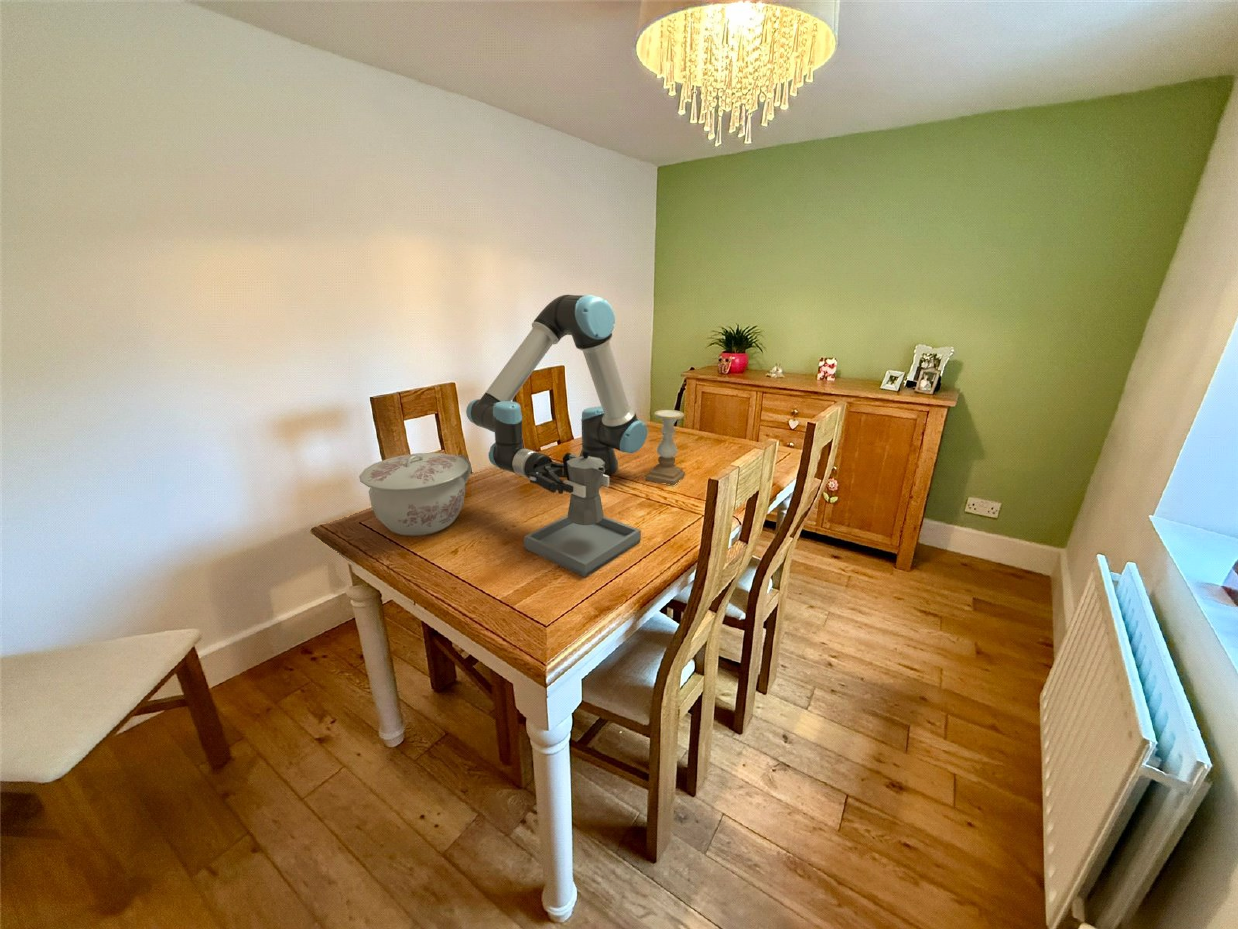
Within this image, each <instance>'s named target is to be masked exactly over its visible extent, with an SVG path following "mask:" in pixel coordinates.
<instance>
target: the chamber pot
mask: <svg viewBox="0 0 1238 929" xmlns="http://www.w3.org/2000/svg"><path fill="white" fill-rule="evenodd" d="M471 475H472V463H471V461H470V460H469V459H468V457H467V456H465V455H462V454H458V455H455V454H450V453H441V452H440V453H439V452H422V453H421V452H420V453H419V452H418V453H417V452H416V453H411V454H402V455H399V456H394V457H389V458H386V459H383V460H381V461H378V462H375V463H373V464H371V465H370V466H367V467H366V468H364V469H363V470H362V472H361V473H360V475H359V476H358V477H359V482H360V483H362V484H364V486H366V487H368V488H369V490H368V496H369V501H370V506H371V508H372V510H373V512H374V516H375V517H376V519H377V520H378V521H379V522H381V524H383V525H384V526H385V528H386V529H388V530H389V531H391V532H392V533H393V534H394V533H395V534H397V535H401V536H406V537H408V536H409V537H415V536H426V535H431V534H434V533H437V532H440V531H442V530H444V529H446V528H448V527H450V526H451V525H452V523H454V522H455V521H456V519H457V518H458V516H459V514H460V513H461V510H462V509H463V507H464V503H465V497H466V496H465V495H466V488H467V487H466V484H467V483H468V481H469V478H470V476H471Z"/></svg>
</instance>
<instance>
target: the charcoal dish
mask: <svg viewBox="0 0 1238 929" xmlns="http://www.w3.org/2000/svg"><path fill="white" fill-rule="evenodd" d="M641 538H642V530H641V529H639V528H636V527H635V526H632V525H628V524H625V523H623V522H620V521H618V520H614V519H612V518H609V517H607V516H604V517H603V518H602V520H601V521H600V522H598V523H596V524H592V525H579V524H575V523H573V522H571V521H570V520H569V518H568V516H567V515H565V516H563V517H561V518H559V519H556V520H554V521H552V522H551V523H549V524H547V525H544V526H543V527H541V528H539V529H536V530H534V531H532V532H531V533H528V534H526V535H524V537H523V541H524V549H526V550H527V551H530V553H534V554H536V555H537V556H540V557H542V558H544V559H546V560H548V561H550V562H551V563H552V562H553V563H554V564H556V565H558V566H560V567H563V568H565V569H566V570H569V571H571V572H572V573H575V574H577V575H579V576H581V577H583V578H587V577H589V576H590V575H592V574H593V573H595V572H596V571H598V570H599V569H601V568H603V567H604V566H605V565H607V564H609V563H610V562H612V561H613V560H615V559H616V558H618V557H620V556H621V555H622V554H624V553H626V552H627V551H629V550H631V548H634V547H635V546H636V545H638V544H639V542H640V541H642V540H641ZM640 543H641V542H640ZM625 551H626V552H625ZM619 555H620V556H619Z"/></svg>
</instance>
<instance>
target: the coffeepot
mask: <svg viewBox="0 0 1238 929" xmlns="http://www.w3.org/2000/svg"><path fill="white" fill-rule="evenodd" d="M582 452H583V457H579V456H578V455H577V454H574V453H571V452H566V453H565V454H564V455H563V456H562V464H564V468H565V473H566V480H568V481H571V482H574V483H577V484H580V485H583V486H586V497H585V498H583V497H580V496H577V495H574V494H571V493H570V500H569V504H568V505H569V506H568V511H567V515H566V516H568V518H569V520H570V521H571V522H573V523H575V524H579V525H592V524H596V523H598V522H600V521H601V520H602V518H603V517H605V516H604V510H603V503H602V498H601V497H602V496H601V494H600V489H601V488H602V485H601V484H602V478H603V473H604V472H605V469H604V466H605V462H604V461H603V460H601V459H600V458H596V457H590V456H588V455H589V451H587V450H584V451H582Z"/></svg>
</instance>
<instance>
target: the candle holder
mask: <svg viewBox="0 0 1238 929" xmlns="http://www.w3.org/2000/svg"><path fill="white" fill-rule="evenodd" d="M653 416H654V417H655V418H657V419H660V420H661V422H662V424H663V425H662V428H661V429H660V433H661V435H662V440H660V442H659V444H658V445H657V448H656V453H657V455H658V456H659V457H658V458H657V462H658V464H656V465H655V466H654V467H652V468H651V469H650V470H649V471H648V473H647V474H646V476H645V481H647V480H649V481H648V482H651V481H654V482H653V483H656V482H658V483H657V484H660V483H666V484H670V485H675V484H676V483H678V482H679V480H680V479H682V478H683V477H684V476H685V477H686V472H685V471H684V469H683V467H681V466H677V465H675V463H676V458H675V457H676V455H677V454H678V447H677V445H676V442H675V441H674V438H673V437H674V435H675V434H676V433H677V432H676V429H675V427H674V426H675V423H676V422H677V420H680V419H683V418H684V417H685V413H684V412H682V411H681V410H680V411H679V410H677V409H676V410H675V409H659V410H656V411H654V413H653ZM685 477H684V478H685ZM684 478H683V479H684ZM683 479H682V480H683ZM679 483H680V482H679ZM679 483H678V484H679ZM670 485H669V486H670ZM676 485H677V484H676ZM676 485H675V486H676Z"/></svg>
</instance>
